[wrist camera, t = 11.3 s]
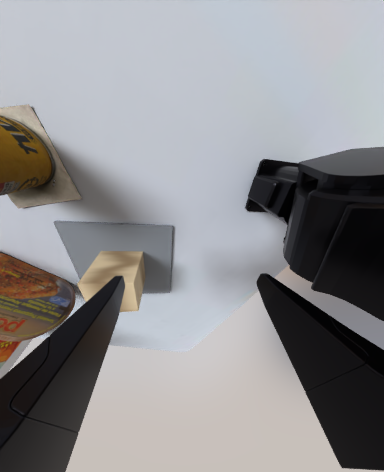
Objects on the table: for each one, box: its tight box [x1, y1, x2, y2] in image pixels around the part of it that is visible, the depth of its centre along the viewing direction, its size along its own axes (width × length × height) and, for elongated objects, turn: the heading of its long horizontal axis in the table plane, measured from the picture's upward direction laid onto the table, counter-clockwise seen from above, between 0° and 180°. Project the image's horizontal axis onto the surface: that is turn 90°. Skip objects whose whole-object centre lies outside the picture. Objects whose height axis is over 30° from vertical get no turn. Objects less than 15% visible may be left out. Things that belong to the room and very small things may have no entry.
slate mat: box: [54, 221, 173, 294], centre depth 22 cm, size 15×15×1 cm
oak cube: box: [77, 251, 145, 312], centre depth 20 cm, size 6×6×6 cm
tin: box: [0, 253, 76, 342], centre depth 18 cm, size 15×3×8 cm, turn 38°
